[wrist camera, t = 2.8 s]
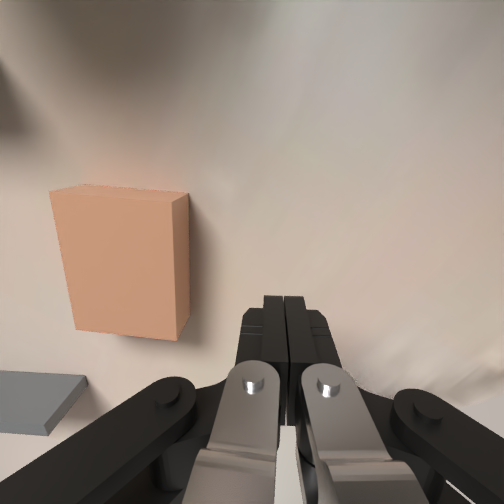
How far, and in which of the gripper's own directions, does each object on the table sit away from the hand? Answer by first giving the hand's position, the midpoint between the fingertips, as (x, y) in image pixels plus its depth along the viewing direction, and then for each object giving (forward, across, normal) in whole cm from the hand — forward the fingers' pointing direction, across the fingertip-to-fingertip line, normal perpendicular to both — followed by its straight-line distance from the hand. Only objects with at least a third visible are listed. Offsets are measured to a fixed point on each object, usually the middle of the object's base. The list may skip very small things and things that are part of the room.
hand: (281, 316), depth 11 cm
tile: (+7, +8, 0) cm, 11 cm away
